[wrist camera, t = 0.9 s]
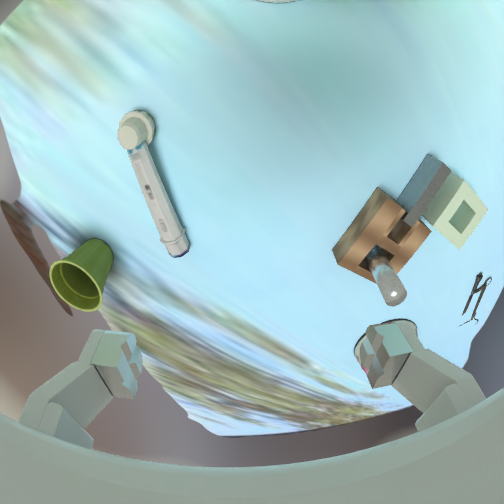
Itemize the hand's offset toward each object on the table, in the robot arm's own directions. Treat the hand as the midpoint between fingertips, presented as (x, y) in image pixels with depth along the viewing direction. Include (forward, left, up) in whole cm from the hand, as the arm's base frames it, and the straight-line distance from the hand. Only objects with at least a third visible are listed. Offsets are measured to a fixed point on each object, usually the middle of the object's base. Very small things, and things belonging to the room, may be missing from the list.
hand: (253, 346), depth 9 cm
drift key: (-8, +27, -35) cm, 45 cm away
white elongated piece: (+13, -12, -36) cm, 40 cm away
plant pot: (+33, -19, -36) cm, 52 cm away
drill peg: (+7, +27, -35) cm, 45 cm away
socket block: (+4, +27, -35) cm, 44 cm away
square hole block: (-9, +36, -35) cm, 51 cm away
